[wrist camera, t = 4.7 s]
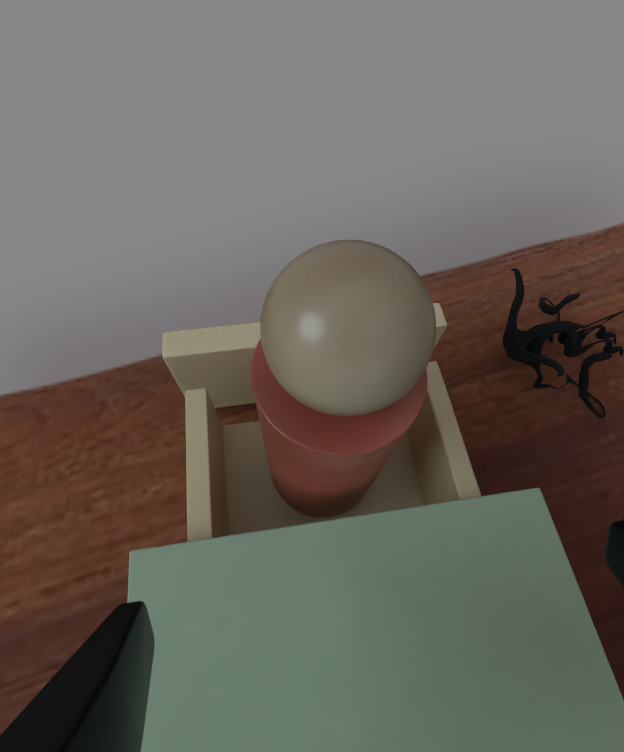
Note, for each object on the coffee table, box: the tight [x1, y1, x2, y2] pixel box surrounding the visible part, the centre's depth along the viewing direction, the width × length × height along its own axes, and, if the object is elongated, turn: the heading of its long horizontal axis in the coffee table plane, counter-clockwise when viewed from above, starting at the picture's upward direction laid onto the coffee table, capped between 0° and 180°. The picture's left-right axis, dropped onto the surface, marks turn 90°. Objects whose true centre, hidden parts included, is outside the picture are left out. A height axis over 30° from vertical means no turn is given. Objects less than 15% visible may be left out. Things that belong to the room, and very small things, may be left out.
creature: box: [503, 269, 624, 418], centre depth 22 cm, size 8×5×8 cm
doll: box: [250, 240, 436, 517], centre depth 13 cm, size 5×5×13 cm
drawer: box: [162, 303, 481, 542], centre depth 18 cm, size 12×12×5 cm
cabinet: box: [127, 488, 624, 752], centre depth 13 cm, size 12×13×7 cm
